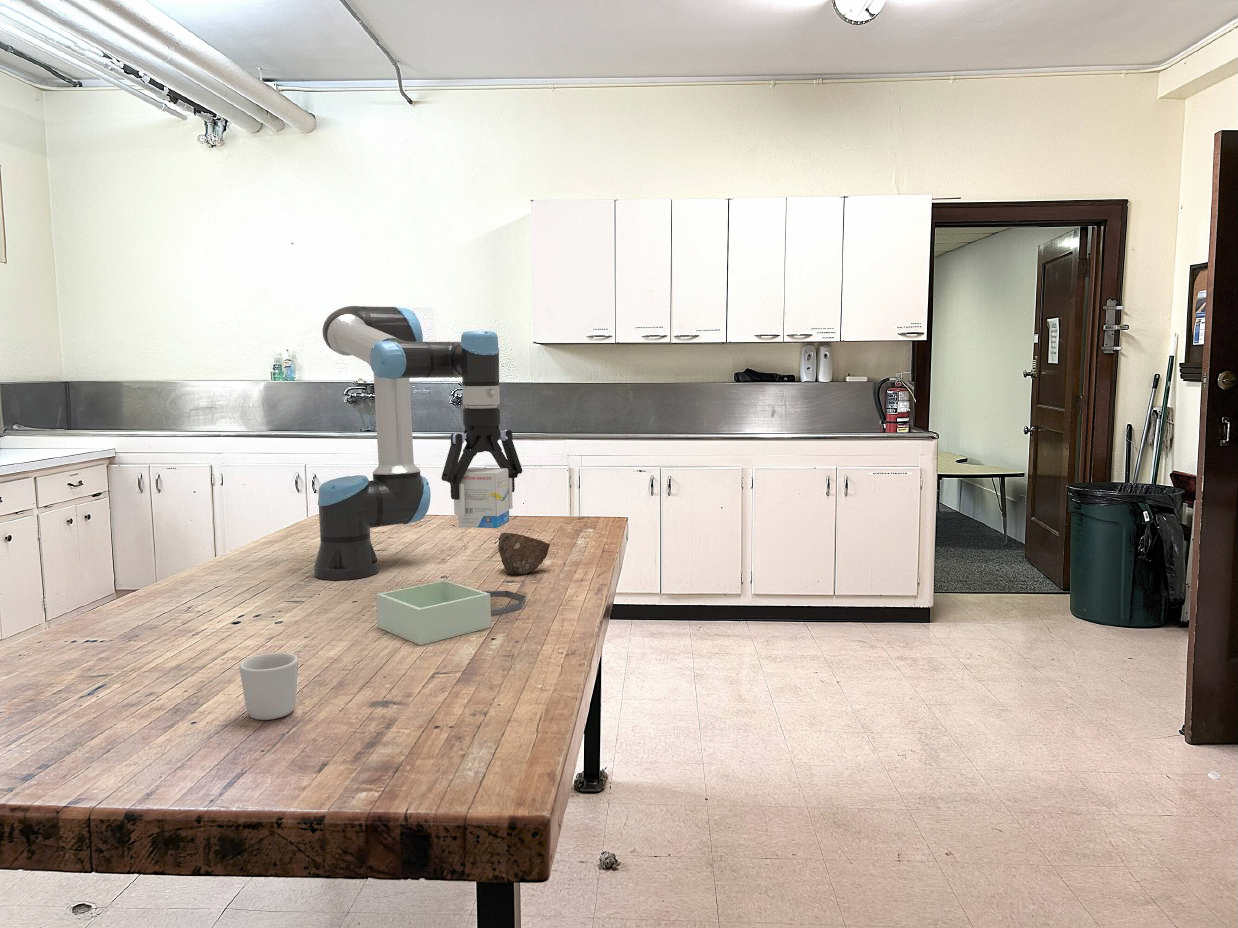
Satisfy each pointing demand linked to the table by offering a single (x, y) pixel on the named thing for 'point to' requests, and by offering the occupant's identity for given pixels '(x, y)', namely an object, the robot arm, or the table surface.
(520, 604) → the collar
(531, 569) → the rock
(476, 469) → the ink box
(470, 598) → the bin
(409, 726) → the table surface
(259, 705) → the cup
